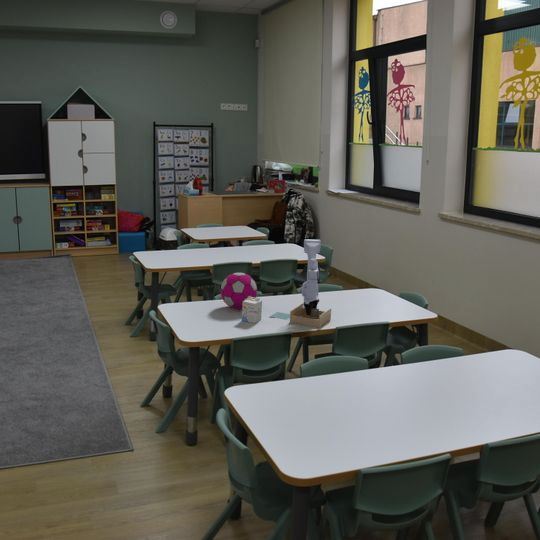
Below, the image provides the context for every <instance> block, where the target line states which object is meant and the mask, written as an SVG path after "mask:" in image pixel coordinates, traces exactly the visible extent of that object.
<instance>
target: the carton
mask: <svg viewBox="0 0 540 540" xmlns="http://www.w3.org/2000/svg"><path fill="white" fill-rule="evenodd" d="M303 309H304V308H303V303H301V304H299V305H298V306H296V307H294V308H293V309H291V310H290V312H289V314H290V318H289V323H292V324H299V325H304V326H310V327H316V328H321V327H323V326H324V325H325V324H326V323H328V322H329V321H331V319H332V307H329V308H328V309H327V310H326V311H325V310H324V311H323V310H319V318H318V320H316V319H310V318H304V317H303Z"/></svg>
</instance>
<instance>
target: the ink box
mask: <svg viewBox="0 0 540 540" xmlns="http://www.w3.org/2000/svg"><path fill="white" fill-rule="evenodd" d="M252 298H254V299H252ZM262 309H263V300H260V298H259V297H256V298H255V297H250V296H248V298H247V300H245V301H243V308H242V309H241V310H242V311H241V312H242V313H241V321H242V322H247V323H250V324H251V323H252V324H256V323H259V321H261V320H262V312H263V311H262Z"/></svg>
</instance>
